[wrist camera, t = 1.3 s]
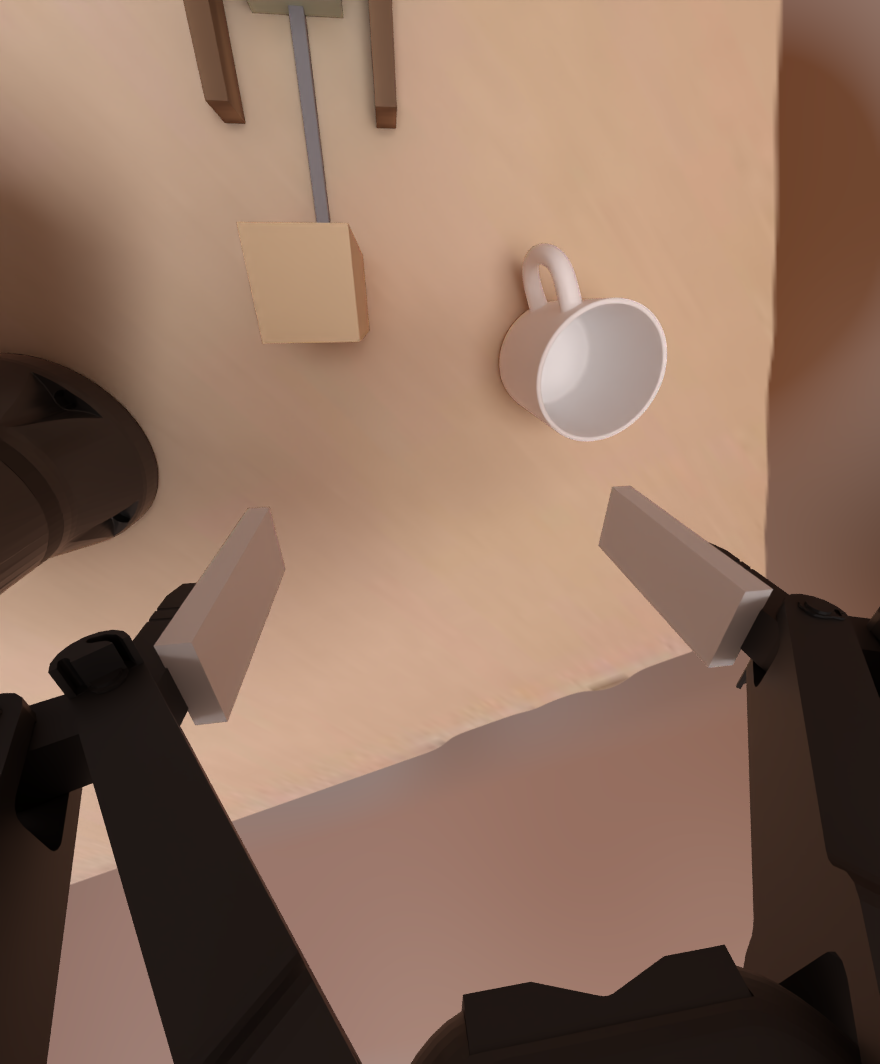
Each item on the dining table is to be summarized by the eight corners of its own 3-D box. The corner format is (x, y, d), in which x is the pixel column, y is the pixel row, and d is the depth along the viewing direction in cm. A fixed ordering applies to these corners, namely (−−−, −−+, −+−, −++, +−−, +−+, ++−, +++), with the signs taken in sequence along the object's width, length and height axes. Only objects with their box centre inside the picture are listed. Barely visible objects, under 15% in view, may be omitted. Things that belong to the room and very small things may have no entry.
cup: (516, 424, 35) (559, 462, 27) (462, 283, 29) (494, 273, 21) (602, 380, 34) (676, 405, 25) (564, 224, 28) (643, 187, 20)
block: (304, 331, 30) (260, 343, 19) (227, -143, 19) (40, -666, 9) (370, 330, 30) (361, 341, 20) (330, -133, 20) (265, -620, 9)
